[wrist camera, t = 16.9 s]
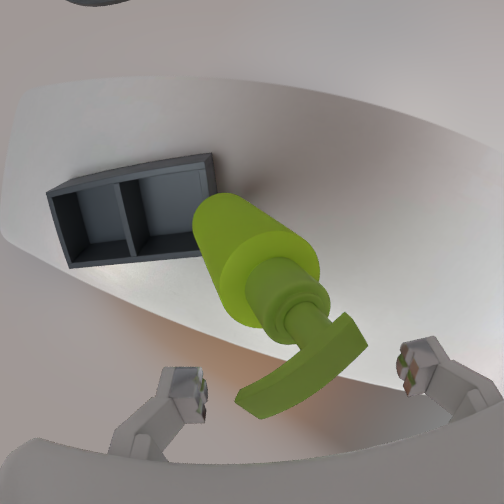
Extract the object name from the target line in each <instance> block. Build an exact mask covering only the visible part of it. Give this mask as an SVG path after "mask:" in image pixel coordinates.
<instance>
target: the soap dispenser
mask: <svg viewBox="0 0 504 504" xmlns="http://www.w3.org/2000/svg"><path fill="white" fill-rule="evenodd" d="M192 229H193V234H194V237H195V239H196V242H197V244H198V247H199V249H200V252H201V254H202V257H203V259H204V261H205V264H206V266H207V269H208V271H209V274H210V276H211V278H212V281H213V283H214V285H215V288H216V290H217V293H218V295H219V297H220V300H221V302H222V304H223V306H224V308H225V310H226V311H227V313H228V314H229V315H230V316H231V317H232V318H233V319H234V320H236V321H237V322H239V323H241V324H243V325H245V326H248V327H252V328H263V329H264V331H265V332H266V334H267V335H268V336H269V337H270V338H271V339H272V340H274V341H275V342H277V343H280V344H285V345H291V344H297V345H298V347H299V348H300V351H299V352H298V353H297V354H296V355H294V356H293V357H292V358H291V359H289V360H288V361H287V362H286V363H284V364H283V365H282V366H280V367H279V368H277V369H276V370H275V371H273V372H272V373H270V374H269V375H267V376H265V377H264V378H262V379H260V380H258V381H256V382H255V383H253V384H251V385H248V386H246V387H244V388H242V389H240V391H239V392H238V394H237V396H236V398H235V403H236V404H238V405H239V406H241V407H242V408H243V409H245V410H247V411H248V412H249V413H251V414H252V415H254V416H255V417H257V418H258V419H265V418H268V417H270V416H273V415H276V414H278V413H280V412H283V411H284V410H287V409H289V408H291V407H293V406H295V405H297V404H298V403H300V402H302V401H304V400H305V399H307V398H308V397H310V396H312V395H313V394H314V393H316V392H317V391H319V390H320V389H321V388H323V387H324V386H325V385H326V384H328V383H329V382H330V381H331V380H333V379H334V378H335V377H336V376H337V375H338V374H339V373H341V372H342V371H343V370H344V369H345V368H346V367H347V366H348V365H349V364H350V363H351V362H352V361H354V360H355V359H356V358H357V357H358V356H359V355H360V354H361V353H362V352H363V351H364V350H365V349H366V348H367V347H368V344H367V342H366V341H365V339H364V337H363V335H362V334H361V332H360V330H359V329H358V327H357V325H356V324H355V322H354V320H353V319H352V318H351V317H350V316H349V315H348V314H347V313H346V312H344V313H343V314H342V315H341V316H339V317H338V318H337V319H336V320H335V321H334V322H333V323H332V322H331V321H330V320H329V319H328V316H329V312H330V298H329V295H328V293H327V291H326V290H325V288H324V287H323V286H322V285H321V284H320V283H319V277H320V267H319V261H318V258H317V255H316V253H315V251H314V249H313V248H312V247H311V245H310V244H309V243H308V242H307V241H306V240H304V239H303V238H302V237H300V236H299V235H297V234H296V233H294V232H293V231H291V230H290V229H288V228H287V227H285V226H284V225H282V224H281V223H279V222H278V221H276V220H275V219H273V218H272V217H270V216H269V215H267V214H266V213H264V212H263V211H261V210H260V209H258V208H257V207H255V206H254V205H252V204H251V203H249V202H247V201H246V200H244V199H243V198H241V197H240V196H238V195H235V194H232V193H218V194H215V195H212V196H210V197H208V198H207V199H205V200H204V201H203V202H202V203H201V204H200V205H199V206H198V208H197V209H196V211H195V214H194V216H193V221H192Z"/></svg>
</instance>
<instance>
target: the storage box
mask: <svg viewBox="0 0 504 504" xmlns="http://www.w3.org/2000/svg"><path fill="white" fill-rule="evenodd" d="M215 194H217V187H216V180H215V173H214V165H213V158H212V153H205V154H198V155H191V156H184V157H178V158H171V159H165V160H159V161H154V162H148V163H143V164H137V165H132V166H127V167H122V168H117V169H112V170H108V171H103V172H99V173H94V174H90V175H86V176H82V177H78V178H74V179H70V180H68V181H66V182H64V183H62V184H61V185H59V186H57V187H55V188H53V189H51V190H49V191H48V192H46V195H47V198H48V203H49V207H50V210H51V214H52V217H53V221H54V224H55V227H56V231H57V234H58V237H59V240H60V243H61V246H62V249H63V252H64V255H65V258H66V261H67V263H68V267H69V269H72V268H83V267H93V266H104V265H114V264H125V263H135V262H146V261H156V260H167V259H178V258H188V257H199V256H202V254H201V252H200V249H199V247H198V244H197V242H196V239H195V237H194V234H193V229H192V221H193V216H194V214H195V211H196V209H197V208H198V206H199V205H200V204H201V203H202V202H203V201H204V200H205V199H207V198H208V197H210V196H212V195H215Z"/></svg>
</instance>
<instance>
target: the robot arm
mask: <svg viewBox="0 0 504 504" xmlns="http://www.w3.org/2000/svg"><path fill="white" fill-rule="evenodd" d="M400 351H401V354H400V355H399V356H398V358H397V362H396V369H397V373H398V376H399V378H400V379H402V380H404V384H403V387H404V389H405V391H406V393H407V395H408V397H411V396H415V395H419V394H423V393H425V394H426V395H427V396H429V397H430V398H431V399H432V400H434V401H435V402H436V403H438V404H439V405H440V406H441V407H443V408H444V409H445V410H446V411H448V412H449V413H450V414H451V415H453V417H452V418H451V420H450V421H449V423H448V424H447V425H445V426H442V427H439V428H436V429H433V430H430V431H427V432H424V433H421V434H418V435H415V436H412V437H408V438H405V439H401V440H398V441H394V442H391V443H386V444H383V445H378V446H375V447H370V448H365V449H361V450H356V451H351V452H346V453H341V454H335V455H329V456H323V457H316V458H309V459H301V460H293V461H282V462H272V463H254V464H188V463H187V464H186V463H172V462H169V461H168V460H167V459H166V457H165V456H164V455H163V453H162V452H163V451H164V449H165V448H166V447H167V446H168V445H169V443H170V442H171V441H172V440H173V439H174V437H175V436H176V435H177V434H178V432H179V431H180V430H181V429H182V427H183V426H184V424H187V423H188V424H194V423H195V424H197V423H205V418H206V408H205V405H204V404H205V403H206V402H207V399H208V389H207V384H206V380H205V379H203V371H202V368H201V367H164V368H163V370H162V373H161V377H160V381H159V384H158V388H157V392H156V396H155V397H151V398H150V399H149V400H148V401H147V402H146V403H145V404H144V405H143V406H141V407H140V408H139V409H138V410H137V411H136V412H135V413H134V414H132V415H131V416H130V417H129V418H128V419H127V420H126V421H124V422H123V423H122V424H121V425H120V426H119V427H118V428H116V429H115V431H114V434H113V437H112V440H111V444H110V447H109V450H108V454H103V453H98V452H93V451H88V450H83V449H79V448H74V447H70V446H66V445H63V444H58V443H55V442H51V441H48V440H45V439H41V438H34V439H32V440H29V441H28V442H26V443H25V444H23V445H21V446H20V447H18V448H17V449H15V450H14V451H12V452H11V453H10V454H9V455H8V456H7V458H6V459H5V461H4V463H3V464H2V466H1V468H0V504H504V399H503V397H502V396H501V394H500V392H499V391H498V389H497V387H496V386H495V384H494V383H493V381H492V380H490V379H488V378H486V377H484V376H483V375H481V374H479V373H477V372H475V371H473V370H471V369H469V368H468V367H466V366H464V365H462V364H460V363H458V362H456V361H455V360H450V359H449V357H448V355H447V354H446V352H445V351H444V349H443V348H442V346H441V345H440V343H439V341H438V340H437V338H436V337H435V336H430V337H426V338H421V339H417V340H413V341H408V342H404V343H402V345H401V347H400Z"/></svg>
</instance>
